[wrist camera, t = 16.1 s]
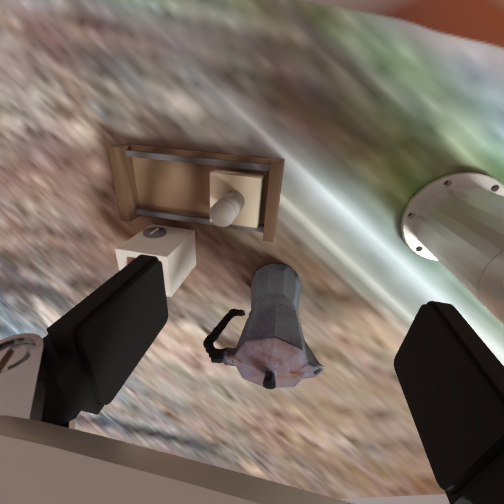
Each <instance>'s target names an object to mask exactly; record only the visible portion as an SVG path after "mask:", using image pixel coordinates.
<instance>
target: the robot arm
mask: <svg viewBox="0 0 504 504" xmlns="http://www.w3.org/2000/svg"><path fill="white" fill-rule="evenodd" d="M445 181H446V183H445V184H444V182H445ZM491 187H492V188H491ZM409 213H411V214H410V215H408V214H409ZM401 234H402V237H403V239H404V241H405V243H406V244H407V245H408V247H409V248H410V249H411V250H412V251H413V252H414V253H416V254H418V255H419V256H421V257H423V258H427V259H430V260H436V261H439V262H440V263H441V264H442V265H443V266H444V267H445V268H446V269H447V270H448V271H449V272H450V273H451V274H452V275H453V276H454V277H455V278H456V279H457V280H458V281H459V282H460V283H461V284H462V285H463V286H464V287H465V288H466V289H467V290H468V291H469V292H470V293H471V294H472V295H473V296H474V297H475V298H476V299H477V300H478V301H479V302H480V303H481V304H482V305H483V306H484V307H485V308H486V309H487V310H488V311H489V312H490V313H491V314H492V315H493V316H494V317H495V318H497V319H498V320H499V321H500V322H501V323H503V324H504V185H503V184H502V183H500V182H499V181H498V180H496V179H494V178H492V177H490V176H488V175H484V174H480V173H474V172H460V173H454V174H450V175H446V176H443V177H441V178H438V179H436V180H434V181H432V182H431V183H429V184H427V185H426V186H424V187H423V188H422V189H421V190H419V191H418V192H417V193H416V194H415V195H414V196H413V197H412V198H411V200H410V201H409V203H408V204H407V206H406V207H405V210H404V212H403V214H402V218H401ZM416 247H417V248H416ZM167 319H168V308H167V300H166V291H165V283H164V274H163V265H162V262H161V261H159V259H158V258H157V257H156V256H150V255H144V254H141V255H139V256H138V257H136V258H135V259H134V260H133V261H131V262H130V263H129V264H128V265H126V266H125V267H124V268H123V269H121V270H120V271H119V272H118V273H116V274H115V275H114V276H113V277H111V278H110V279H109V280H108V281H106V282H105V283H104V284H103V285H101V286H100V287H99V288H97V289H96V290H95V291H94V292H92V293H91V294H90V295H89V296H87V297H86V298H85V299H84V300H82V301H81V302H80V303H79V304H77V305H76V306H75V307H74V308H72V309H71V310H70V311H69V312H67V313H66V314H65V315H64V316H62V317H61V318H60V319H59V320H57V321H56V322H55V323H54V324H52V325H51V326H50V327H49V328H47V332H48V335H47V336H46V337H44V338H43V339H42V338H41V337H40V336H39V335H36V334H33V333H24V334H18V335H13V336H10V337H7V338H4V339H2V340H0V504H353V503H350V502H346V501H342V500H339V499H335V498H332V497H328V496H324V495H320V494H317V493H313V492H309V491H306V490H302V489H298V488H295V487H291V486H287V485H283V484H280V483H276V482H272V481H269V480H265V479H261V478H258V477H254V476H250V475H246V474H243V473H239V472H235V471H232V470H228V469H224V468H220V467H217V466H213V465H209V464H205V463H202V462H198V461H194V460H191V459H187V458H183V457H179V456H175V455H172V454H168V453H164V452H160V451H156V450H153V449H149V448H145V447H141V446H137V445H134V444H130V443H126V442H122V441H118V440H115V439H111V438H107V437H103V436H99V435H95V434H91V433H87V432H83V431H79V430H75V418H76V417H77V415H78V414H79V413H80V411H81V410H82V411H85V412H89V413H93V414H97V415H98V414H99V412H100V411H101V409H102V408H103V406H104V405H107V404H109V403H110V402H111V401H112V400H113V399H114V397H115V396H116V394H117V393H118V392H119V390H120V389H121V387H122V386H123V384H124V383H125V381H126V380H127V379H128V377H129V376H130V374H131V373H132V371H133V370H134V368H135V367H136V366H137V364H138V363H139V361H140V360H141V358H142V357H143V355H144V354H145V353H146V351H147V350H148V348H149V347H150V345H151V344H152V342H153V341H154V340H155V338H156V337H157V335H158V334H159V332H160V331H161V329H162V328H163V327H164V325H165V324H166V322H167ZM394 368H395V371H396V374H397V377H398V379H399V382H400V385H401V387H402V390H403V393H404V395H405V398H406V401H407V403H408V406H409V409H410V411H411V414H412V417H413V419H414V422H415V425H416V428H417V430H418V433H419V436H420V438H421V441H422V444H423V446H424V449H425V452H426V454H427V457H428V460H429V462H430V465H431V468H432V470H433V473H434V476H435V478H436V481H437V483H438V485H439V486H440V487H441V488H442V489H443V490H445V492H446V495H447V497H448V500H449V502H450V504H504V366H503V365H502V364H501V363H500V361H499V360H498V359H497V358H496V357H495V355H494V354H493V353H492V352H491V350H490V349H489V348H488V347H487V346H486V344H485V343H484V342H483V341H482V340H481V338H480V337H479V336H478V335H477V334H476V332H475V331H474V330H473V329H472V328H471V326H470V325H469V324H468V323H467V322H466V320H465V319H464V318H463V317H462V315H461V314H460V313H459V312H458V311H457V309H456V308H455V307H454V306H453V305H451V304H447V303H441V302H435V301H429V302H428V303H427V304H423V305H422V306H421V307H420V309H419V311H418V313H417V315H416V317H415V319H414V321H413V323H412V325H411V327H410V329H409V331H408V333H407V335H406V337H405V339H404V341H403V343H402V345H401V346H400V348H399V350H398V352H397V354H396V356H395V359H394Z"/></svg>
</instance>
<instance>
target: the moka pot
mask: <svg viewBox="0 0 504 504" xmlns="http://www.w3.org/2000/svg"><path fill="white" fill-rule="evenodd" d="M300 292H301V283H300V279H299V277H298V274H297V273H296V272H295V271H294V270H293V269H291V268H290V267H288V266H286V265H283V264H268V265H265V266H263V267H261V268H260V269H258V270H257V271H256V272H255V275H254V277H253V279H252V281H251V311H250V313H249V318H248V319H247V321H246V323H245V326H244V329H243V331H242V334H241V337H240V339H239V342H238V344H237V347H236V348H229V347H228V348H224V349H216V348H215V347H214V346H213V343H214V342H215V341H216V340H217V338H218V337H219V334H221V332H222V331H223V329H224V328H225V327H226V325H227V324H228V322H229V321H230V320H231V319H232V318H233V317H234V316H243V315H245V312H244V310H238V309H237V310H236V309H231V310H230V311H229V312H228V314H226V315H225V316H224V318H223V319H222V320H221V321H220V323H219V324H218V325H217V326H216V327H215V328H214V330H213V331H212V332H211V333H210V335H208V336H207V337H206V338H205V341H204V342H203V345H204V347H205V348H206V352H207V353H209V357H210V358H211V361H212V363H214V362H215V363H222V362H224V364H225V365H231V366H236V367H237V369H238V370H239V372H240V374H241V376H242V378H244V379H246V380H248V381H251V382H253V383H255V384H258V385H260V386H262V387H265V388H267V389H274V388H283V387H294V386H296V385H297V384H298V383H299V382H300V381H301V380H302V379H303V378H312V377H315V376H316V375H318V374H320V373H322V372H323V370H324V366H322V365H321V364H320V363H319V362H318V361H317V359H316V358H315V356H314V354H313V353H312V351H311V350H310V348H309V346H308V345H307V343H306V342H305V340H304V336H303V332H302V328H301V324H300V321H299V318H298V307H299V300H300Z"/></svg>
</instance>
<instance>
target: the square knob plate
mask: <svg viewBox="0 0 504 504" xmlns="http://www.w3.org/2000/svg"><path fill="white" fill-rule="evenodd" d="M263 182H264V174H256V173H247V172H238V171H229V170H220V169H216V170H214V171H212V172H210V212H209V215H210V222H213V223H214V224H215V225H217V226H220V227H226V226H229V225H230V224H232V225H239V226H246V227H253V228H257V226H258V224H259V222H260V214H261V204H262V193H263Z"/></svg>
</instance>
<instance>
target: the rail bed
mask: <svg viewBox="0 0 504 504" xmlns="http://www.w3.org/2000/svg"><path fill="white" fill-rule="evenodd" d="M107 147H108V153H109V158H110V163H111V168H112V174H113V179H114V184H115V190H116V195H117V200H118V206H119V211H120V216H121V220H123V221H132V220H133V219H135V218H137V217H139V216H140V215H141V216H149V217H156V218H163V219H170V220H177V221H184V222H191V223H199V224H206V225H213V226H217V225H215V224H214V223H213V222H210V215H209V212H210V172H212V171H214V170H216V169H220V170H229V171H238V172H247V173H256V174H264V182H263V193H262V204H261V214H260V222H259V224H258V226H257V228H253V227H246V226H239V225H232V224H230V225H229V226H226V227H227V228H234V229H241V230H249V231H256V232H263V241H269V242H273V239H274V235H275V231H276V224H277V216H278V208H279V200H280V193H281V185H282V177H283V169H284V161H285V160H283V159H273V158H264V157H254V156H244V155H234V154H224V153H214V152H204V151H194V150H184V149H174V148H164V147H154V146H144V145H134V144H121V145H112V146H107Z"/></svg>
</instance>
